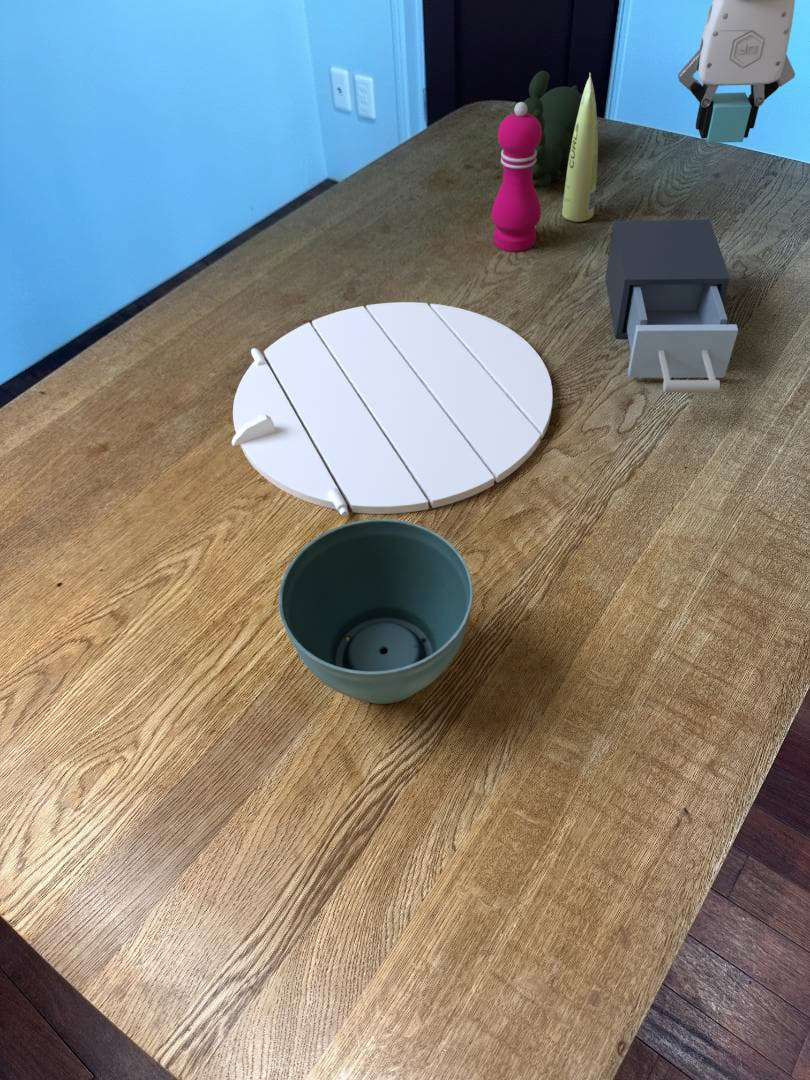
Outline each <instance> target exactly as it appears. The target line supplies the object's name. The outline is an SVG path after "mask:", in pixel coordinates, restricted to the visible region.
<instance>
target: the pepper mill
mask: <svg viewBox="0 0 810 1080" xmlns="http://www.w3.org/2000/svg"><path fill="white" fill-rule="evenodd" d="M523 102H524V101H519V102H517V103H516V104H515V106H514V109H513V111H514V113H510V114H509V115H508V116H506V117H505V118H504V119H503V120H502V121H501V123H500V124H499V127H498V131H497V142H498V144H499V146H500V148H501V149H502V150H501V152H500V156H501V158H500V163H501V165H503V175H502V182H501V186H500V188H499V191H498V193H497V195H496V197H495V199H494V202H493V205H492V209H491V221H492V223H493V225H494V226H495V229H494V234H493V235H494V237H493V240H494V241H493V242H494V244H495V246H496V247H497V248H498V249H501V250H502V251H506V252H511V253H512V252H515V253H516V252H524V251H527V250H529V249H531V248H532V247H533V246H534V245H535V243H536V241H537V240H536V239H537V229H536V228H535V227H537V225H538V223H539V222H540V220H541V217H542V216H541V213H542V212H541V211H542V210H541V204H540V199H539V197H538V193H537V191H536V188H535V185H534V184H535V183H534V180H533V179H532V169H533V165H534V164H535V163H536V155H537V151H536V149H535V148H536V147H537V146H538V145H539V143H540V141H541V137H542V130H541V125H540V123H539V121H538V120H537V118H536V117H534V116H533V115H531V114H529V113H527V105H526V104H525V103H523Z"/></svg>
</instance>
